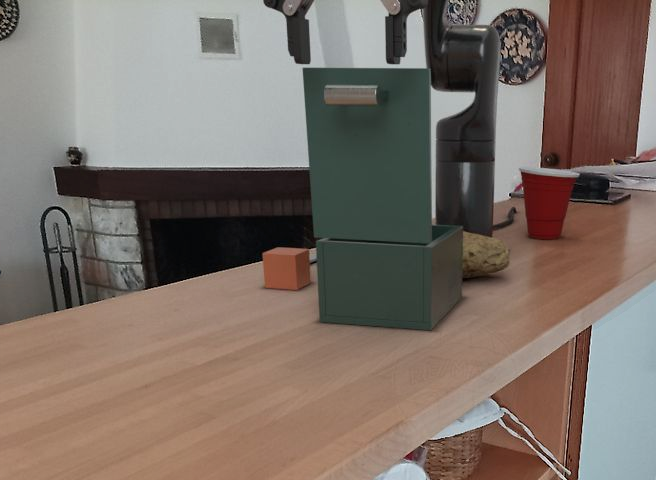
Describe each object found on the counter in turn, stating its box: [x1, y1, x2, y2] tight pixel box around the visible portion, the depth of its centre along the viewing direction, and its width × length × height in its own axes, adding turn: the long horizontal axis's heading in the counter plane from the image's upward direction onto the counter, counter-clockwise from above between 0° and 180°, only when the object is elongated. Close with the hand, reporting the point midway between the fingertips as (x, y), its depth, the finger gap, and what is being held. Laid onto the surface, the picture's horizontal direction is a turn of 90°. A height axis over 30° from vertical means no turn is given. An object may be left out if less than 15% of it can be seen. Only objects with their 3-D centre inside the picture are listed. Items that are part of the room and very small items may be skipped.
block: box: [262, 246, 312, 291], centre depth 101 cm, size 4×4×4 cm
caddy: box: [315, 223, 463, 331], centre depth 90 cm, size 16×13×9 cm
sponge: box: [462, 231, 511, 279], centre depth 107 cm, size 13×8×20 cm
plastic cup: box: [518, 166, 581, 240], centre depth 140 cm, size 11×11×12 cm
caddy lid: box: [302, 67, 433, 244], centre depth 75 cm, size 16×13×5 cm
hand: (347, 64), depth 70 cm, fingers open, 8 cm apart
